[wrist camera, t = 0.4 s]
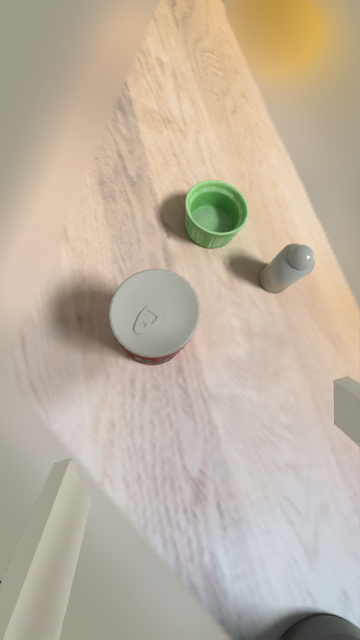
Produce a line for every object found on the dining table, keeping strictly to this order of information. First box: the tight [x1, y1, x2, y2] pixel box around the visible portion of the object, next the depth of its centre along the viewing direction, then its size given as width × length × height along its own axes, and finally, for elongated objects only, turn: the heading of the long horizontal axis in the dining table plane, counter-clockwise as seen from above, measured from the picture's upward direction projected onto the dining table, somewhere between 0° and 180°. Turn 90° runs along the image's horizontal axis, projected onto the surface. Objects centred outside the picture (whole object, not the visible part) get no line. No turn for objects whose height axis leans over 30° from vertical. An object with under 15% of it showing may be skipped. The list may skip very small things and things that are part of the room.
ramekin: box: [185, 180, 248, 248], centre depth 33 cm, size 9×9×4 cm
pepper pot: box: [259, 244, 315, 294], centre depth 30 cm, size 4×4×8 cm
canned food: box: [109, 269, 200, 365], centre depth 24 cm, size 8×8×11 cm
